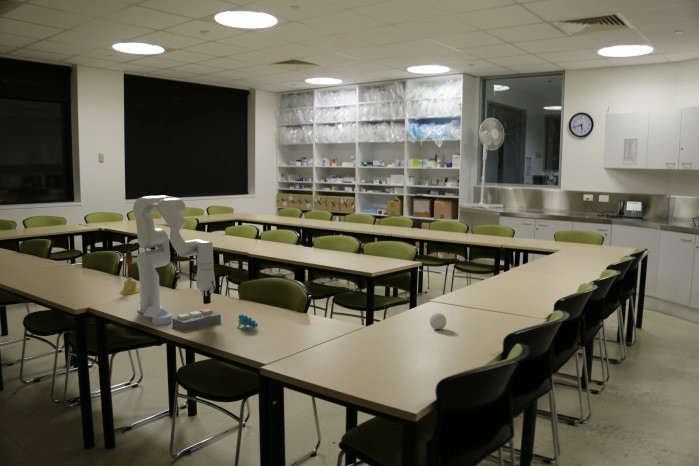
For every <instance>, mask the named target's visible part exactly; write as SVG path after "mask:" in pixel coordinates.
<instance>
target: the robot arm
mask: <svg viewBox="0 0 699 466" xmlns="http://www.w3.org/2000/svg"><path fill="white" fill-rule="evenodd" d="M132 210H133V215H134V219H135V224H136V232H137V233H136V235H137V242H138V245H139V247H140V248H143V249H149V250H144V251H141V252H140V253H139V254H138V255H137V258H136V264H137V267H138V274H139V289H140V293H139V298H140V301H139V304H140V307H138V308H137V312H138V313H139V314H141V313H142V314H144V313H145V311H146V310H147V309H148V308H149V307H155V308H161V309H163V310H164V307H163V306H162V305H161V301H160V300H161V299H160V297H161V296H160V294H161V293H160V275H159V273H158V272H157V269H156V268H161V267H166V266H167V265H168V264H169V263H170V261H171V251H170V244H171V246H172V247H173V249H174V250H175V252H176V253H177V254H178V255H179V256H180V257H183V258H186V257H191V256H196V260H197V262H196V263H197V264H196V265H197V270H196V276H195V277H196V278H195V279H196V282H195V283H196V289H198V290H199V291H200V292H201V295H202V298H203V299H202V301H203V303H202V304H203V305H208V304H211V303H212V300H211V299H212V298H211V296H212V294H213V293H215V289H216V276H215V270H214V244H213V242H212V241H211V240H202V239H190V240H185V239H184V238H183V237H182V235H181V233H180V231H181V230H182V229H183V228H184V227H185V226H186V223H187V220H186V219H185V217H184V216H183V214H184V213H185V211H186V204H185V202H184V200H182V199H181V198H180V197H179V198H178V197H175V196H168V195H148V196H141V197H139V198H137V199H136V200H135V201H134V203H133V207H132ZM151 213H159V215H161V217H162V219H163V220H164V221H165V223H166V224H167V227H169V229H170V231H169V236H168V233H167V231H166V230H165V229H164V228H160V227H159V228H158V227H157V228H155V224H154V223H155V222H154V219H153V216H151ZM151 248H155V249H151Z"/></svg>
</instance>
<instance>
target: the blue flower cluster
mask: <svg viewBox="0 0 699 466" xmlns="http://www.w3.org/2000/svg"><path fill="white" fill-rule="evenodd" d="M237 322H238V326H237V327H236V328H237V329H240V326H243V327H242V328H241V330H242V331H245V329H246V328H247V326H249V327H252V328H257V327H258V323H257V322H256V320H254V319H253V318H252V317H248V315H243V314H239V315H238V320H237Z"/></svg>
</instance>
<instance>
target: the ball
mask: <svg viewBox="0 0 699 466" xmlns="http://www.w3.org/2000/svg"><path fill="white" fill-rule="evenodd" d="M429 325H430V326H431V328H432V329H433V330H436V329H440V330H442V329H444V328H445V327H446V326H447V318H446V316H445V315H444V314H443V313H441V312H436V313H432V315H431V316H430V317H429Z"/></svg>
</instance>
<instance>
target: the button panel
mask: <svg viewBox="0 0 699 466" xmlns="http://www.w3.org/2000/svg"><path fill="white" fill-rule="evenodd" d="M221 317H222V314H220V313H218V312H214V311H213V314H208V315H203V314H202V316H199V317H195V318H193V317H190V319H186V320H179V319H177V316H176V317H172V327H173V328H176V329H177V330H180V331H183V332H186V331H191V330H195V329H199V328H204V327H207V326H212V325H216V324H220V323H222V318H221Z"/></svg>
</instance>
